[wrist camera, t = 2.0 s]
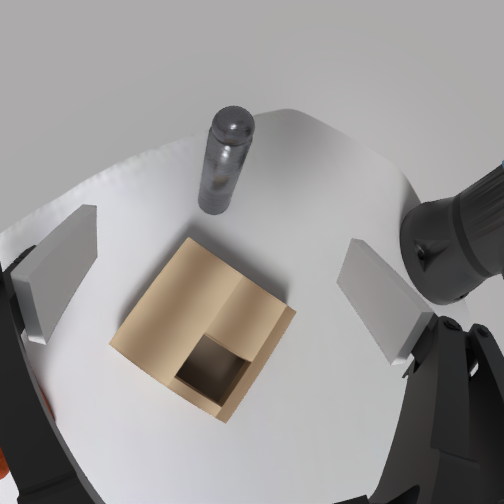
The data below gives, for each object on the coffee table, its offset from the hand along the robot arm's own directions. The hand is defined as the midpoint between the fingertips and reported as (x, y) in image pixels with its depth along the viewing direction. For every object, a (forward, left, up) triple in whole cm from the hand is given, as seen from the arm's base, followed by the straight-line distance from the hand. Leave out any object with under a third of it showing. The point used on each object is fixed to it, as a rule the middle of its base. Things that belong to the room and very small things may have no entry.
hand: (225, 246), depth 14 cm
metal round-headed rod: (+5, -9, -15) cm, 18 cm away
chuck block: (-2, +3, -15) cm, 15 cm away
